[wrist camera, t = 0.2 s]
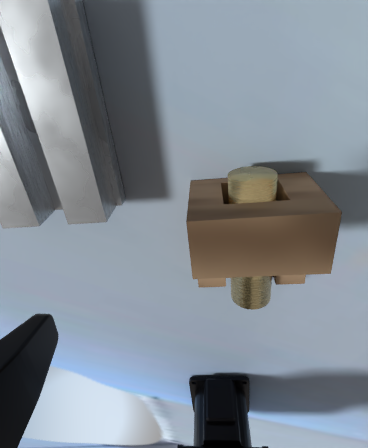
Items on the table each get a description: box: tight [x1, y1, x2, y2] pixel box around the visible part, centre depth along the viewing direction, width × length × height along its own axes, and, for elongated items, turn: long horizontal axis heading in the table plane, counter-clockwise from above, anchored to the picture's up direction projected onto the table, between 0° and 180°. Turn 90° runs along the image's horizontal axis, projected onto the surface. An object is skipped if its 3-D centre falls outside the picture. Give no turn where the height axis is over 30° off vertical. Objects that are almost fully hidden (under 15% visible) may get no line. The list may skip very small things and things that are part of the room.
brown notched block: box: [186, 172, 342, 287], centre depth 20 cm, size 8×8×6 cm
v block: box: [0, 0, 126, 228], centre depth 18 cm, size 12×8×4 cm, turn 6°
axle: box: [228, 166, 278, 309], centre depth 20 cm, size 10×3×3 cm, turn 6°
